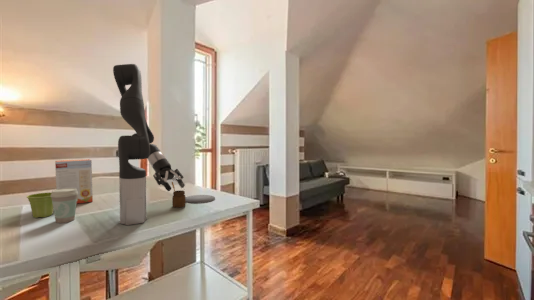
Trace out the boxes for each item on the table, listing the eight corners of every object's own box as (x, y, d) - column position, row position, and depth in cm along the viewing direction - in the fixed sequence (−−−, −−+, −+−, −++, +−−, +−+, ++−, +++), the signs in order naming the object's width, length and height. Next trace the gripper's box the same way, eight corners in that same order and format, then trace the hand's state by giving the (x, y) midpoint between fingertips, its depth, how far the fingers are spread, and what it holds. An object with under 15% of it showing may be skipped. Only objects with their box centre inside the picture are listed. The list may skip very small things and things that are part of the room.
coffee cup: (45, 222, 100) (44, 191, 99) (68, 216, 108) (67, 187, 108) (61, 225, 98) (61, 193, 97) (84, 218, 106) (83, 188, 105)
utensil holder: (187, 206, 126) (187, 181, 125) (174, 208, 122) (174, 182, 121) (182, 203, 130) (182, 179, 130) (169, 205, 126) (169, 180, 126)
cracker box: (91, 199, 136) (90, 158, 134) (92, 202, 131) (92, 159, 130) (56, 203, 127) (55, 160, 126) (56, 206, 122) (55, 161, 121)
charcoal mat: (219, 200, 138) (219, 199, 138) (189, 204, 129) (189, 203, 129) (208, 194, 151) (208, 193, 151) (179, 198, 142) (179, 196, 142)
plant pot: (22, 217, 106) (21, 195, 105) (49, 211, 115) (48, 191, 114) (35, 220, 102) (34, 198, 102) (62, 214, 111) (62, 193, 110)
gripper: (151, 158, 123) (169, 185, 118) (174, 156, 136) (191, 181, 131) (143, 169, 125) (160, 196, 121) (166, 166, 138) (183, 190, 134)
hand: (176, 188), depth 126 cm, fingers open, 8 cm apart
